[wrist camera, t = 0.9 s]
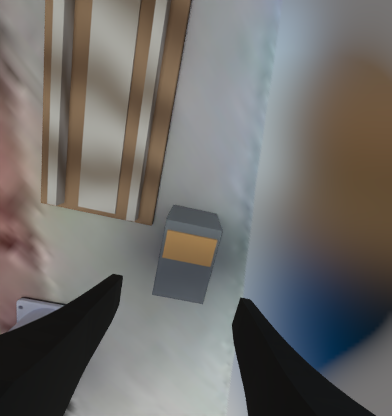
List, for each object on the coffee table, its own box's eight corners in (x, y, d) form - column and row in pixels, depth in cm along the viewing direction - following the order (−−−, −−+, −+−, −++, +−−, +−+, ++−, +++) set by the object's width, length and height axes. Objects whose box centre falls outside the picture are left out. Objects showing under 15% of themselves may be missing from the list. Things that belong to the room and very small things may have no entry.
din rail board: (152, 223, 20) (143, 237, 17) (45, 201, 20) (13, 210, 16) (201, -59, 15) (203, -125, 11) (53, -101, 14) (7, -185, 11)
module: (201, 271, 22) (202, 305, 17) (161, 264, 22) (151, 296, 17) (216, 213, 20) (222, 231, 15) (173, 204, 20) (166, 220, 15)
